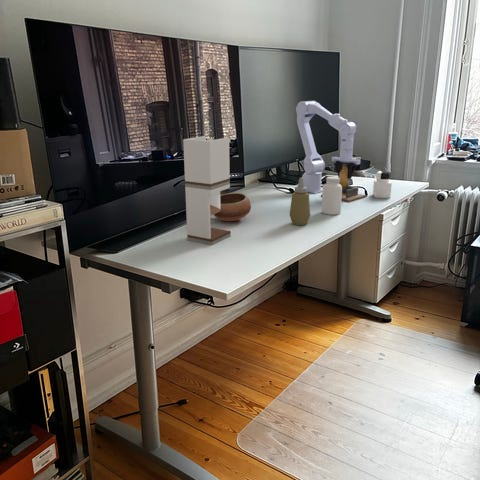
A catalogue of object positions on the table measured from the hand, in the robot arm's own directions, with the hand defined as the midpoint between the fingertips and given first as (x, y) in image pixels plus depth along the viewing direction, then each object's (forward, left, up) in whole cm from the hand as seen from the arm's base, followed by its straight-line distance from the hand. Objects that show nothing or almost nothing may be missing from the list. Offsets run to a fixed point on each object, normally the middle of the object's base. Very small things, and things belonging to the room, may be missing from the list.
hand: (344, 178), depth 230 cm
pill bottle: (+13, -28, -9) cm, 32 cm away
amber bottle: (0, 0, -3) cm, 4 cm away
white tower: (+3, -87, -9) cm, 88 cm away
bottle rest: (0, 0, -9) cm, 9 cm away
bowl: (-9, -65, -9) cm, 66 cm away
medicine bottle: (+12, +14, -9) cm, 21 cm away
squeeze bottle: (+14, -50, -9) cm, 53 cm away
